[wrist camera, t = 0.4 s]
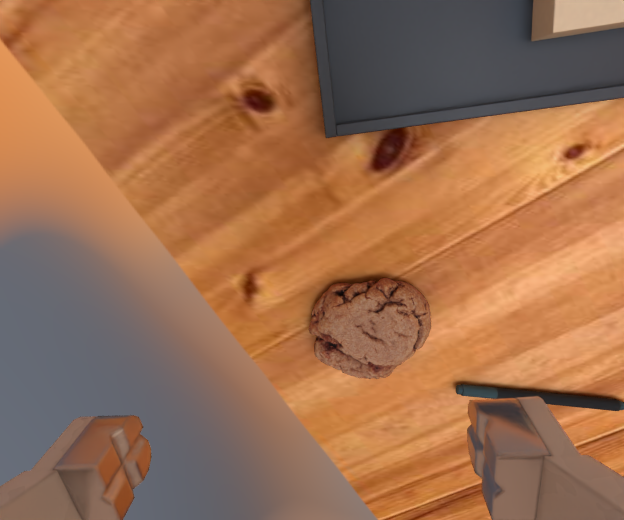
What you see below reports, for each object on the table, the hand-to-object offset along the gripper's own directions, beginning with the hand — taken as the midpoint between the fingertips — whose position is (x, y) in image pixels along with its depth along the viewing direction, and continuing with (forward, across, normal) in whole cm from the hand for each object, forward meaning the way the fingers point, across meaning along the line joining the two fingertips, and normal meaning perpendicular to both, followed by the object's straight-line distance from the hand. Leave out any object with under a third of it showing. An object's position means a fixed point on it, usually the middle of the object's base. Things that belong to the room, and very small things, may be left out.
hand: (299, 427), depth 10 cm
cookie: (+24, -2, +11) cm, 26 cm away
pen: (+23, -17, +20) cm, 35 cm away
